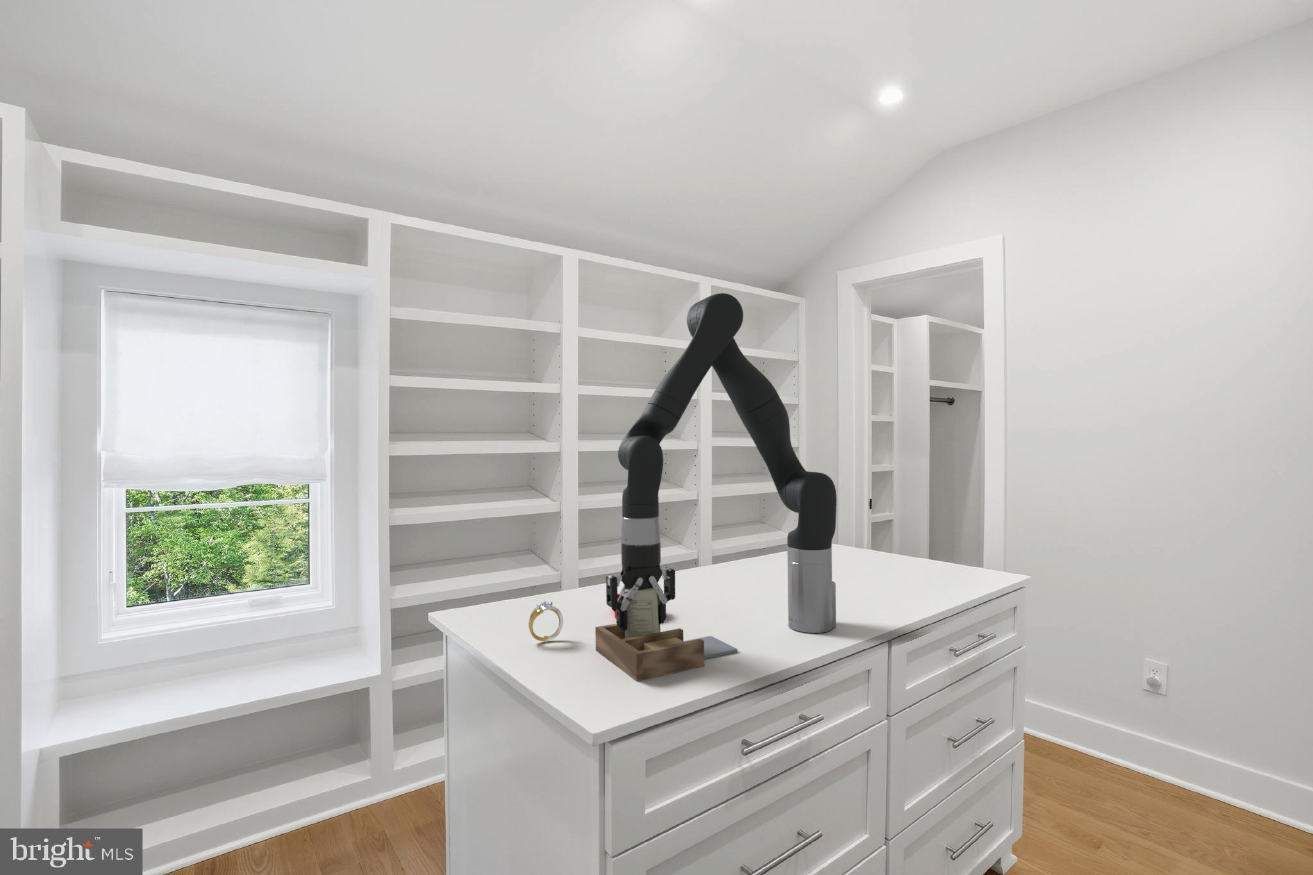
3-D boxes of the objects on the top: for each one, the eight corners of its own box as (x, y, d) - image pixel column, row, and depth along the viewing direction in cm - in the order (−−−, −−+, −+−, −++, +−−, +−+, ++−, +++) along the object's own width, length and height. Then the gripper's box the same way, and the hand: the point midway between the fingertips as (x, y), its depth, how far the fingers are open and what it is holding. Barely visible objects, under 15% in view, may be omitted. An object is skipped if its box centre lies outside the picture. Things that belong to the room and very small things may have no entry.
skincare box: (659, 648, 120) (659, 585, 120) (657, 655, 115) (657, 590, 115) (627, 647, 120) (626, 584, 120) (623, 655, 116) (623, 590, 116)
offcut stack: (680, 657, 115) (680, 636, 115) (693, 665, 111) (692, 643, 111) (642, 665, 111) (641, 643, 111) (653, 673, 107) (653, 650, 107)
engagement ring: (530, 646, 121) (529, 605, 121) (527, 641, 124) (527, 601, 124) (564, 641, 124) (564, 602, 124) (561, 637, 127) (561, 598, 127)
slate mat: (710, 638, 125) (710, 635, 125) (737, 652, 117) (737, 648, 117) (672, 646, 120) (672, 643, 120) (697, 660, 113) (697, 657, 113)
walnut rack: (657, 638, 125) (657, 616, 125) (704, 665, 110) (704, 640, 110) (595, 650, 119) (595, 627, 119) (636, 681, 103) (636, 654, 103)
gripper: (615, 546, 111) (616, 637, 111) (683, 539, 118) (684, 625, 118) (598, 540, 118) (599, 626, 118) (663, 534, 124) (664, 615, 124)
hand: (641, 625), depth 118 cm, fingers closed on skincare box, 7 cm apart
